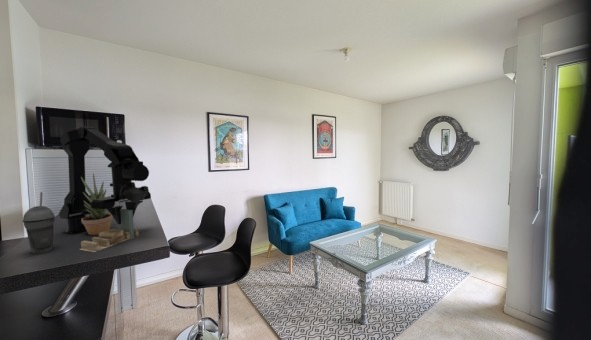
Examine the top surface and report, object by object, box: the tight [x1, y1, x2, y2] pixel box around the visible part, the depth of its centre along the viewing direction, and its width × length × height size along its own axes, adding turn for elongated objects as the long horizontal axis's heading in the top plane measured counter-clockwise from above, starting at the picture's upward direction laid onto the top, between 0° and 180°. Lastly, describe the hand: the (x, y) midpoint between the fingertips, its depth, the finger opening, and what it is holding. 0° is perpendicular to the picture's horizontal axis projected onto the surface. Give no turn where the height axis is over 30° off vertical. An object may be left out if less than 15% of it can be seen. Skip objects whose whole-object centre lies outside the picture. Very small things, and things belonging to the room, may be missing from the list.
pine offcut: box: [98, 228, 124, 239], centre depth 87 cm, size 4×5×2 cm
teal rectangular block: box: [116, 208, 135, 239], centre depth 92 cm, size 2×6×10 cm, turn 72°
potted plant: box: [81, 172, 114, 236], centre depth 97 cm, size 10×10×25 cm
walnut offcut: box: [109, 235, 126, 246], centre depth 88 cm, size 5×6×2 cm
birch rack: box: [79, 228, 140, 253], centre depth 88 cm, size 16×7×4 cm, turn 162°
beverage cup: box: [22, 191, 56, 255], centre depth 80 cm, size 7×7×20 cm
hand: (125, 222), depth 92 cm, fingers open, 4 cm apart
